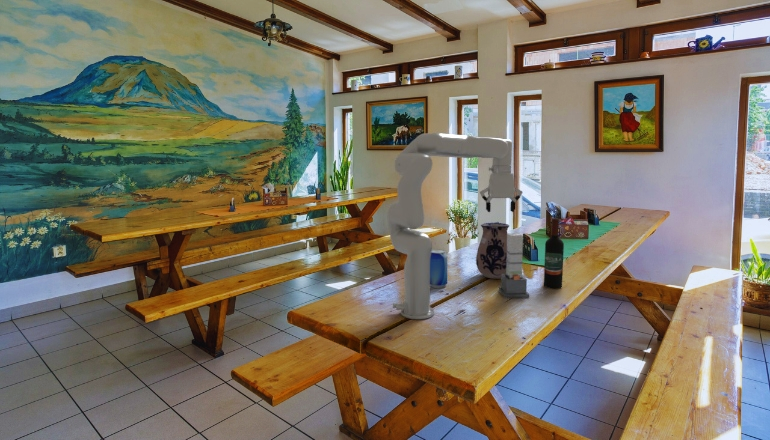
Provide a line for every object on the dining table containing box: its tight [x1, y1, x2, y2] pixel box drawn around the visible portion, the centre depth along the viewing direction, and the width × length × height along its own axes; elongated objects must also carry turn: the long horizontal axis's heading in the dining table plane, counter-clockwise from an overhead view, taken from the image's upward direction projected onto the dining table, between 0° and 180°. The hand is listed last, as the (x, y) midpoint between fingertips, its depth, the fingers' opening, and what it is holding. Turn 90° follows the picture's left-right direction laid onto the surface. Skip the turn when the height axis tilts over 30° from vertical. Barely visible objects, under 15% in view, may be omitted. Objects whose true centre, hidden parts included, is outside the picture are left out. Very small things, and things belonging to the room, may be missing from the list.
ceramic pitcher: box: [475, 221, 510, 280], centre depth 218 cm, size 18×21×25 cm
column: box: [506, 232, 524, 279], centre depth 191 cm, size 5×5×18 cm
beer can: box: [430, 248, 448, 289], centre depth 206 cm, size 8×8×16 cm
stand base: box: [498, 274, 530, 299], centre depth 193 cm, size 10×10×9 cm
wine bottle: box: [543, 217, 565, 290], centre depth 200 cm, size 8×8×30 cm
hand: (500, 211), depth 191 cm, fingers open, 9 cm apart
